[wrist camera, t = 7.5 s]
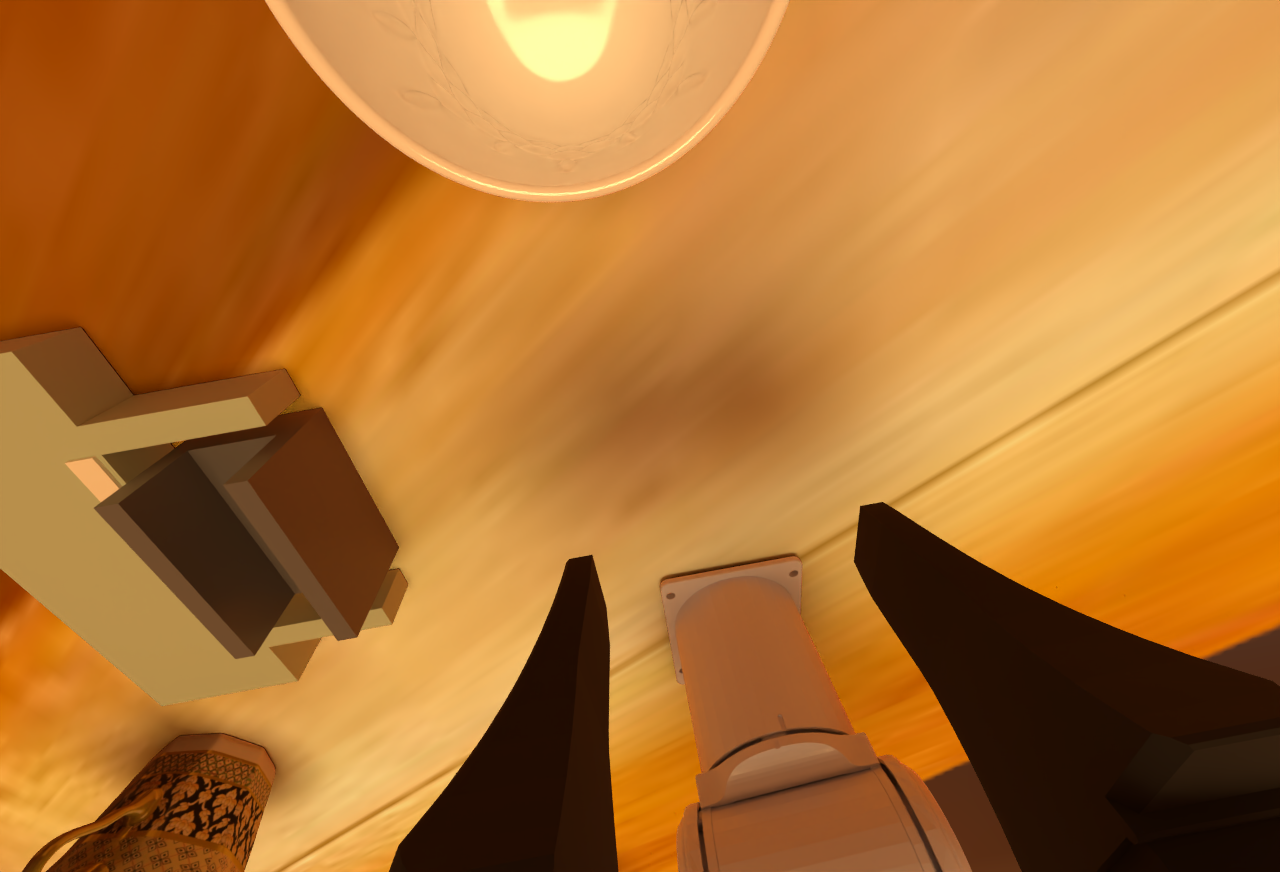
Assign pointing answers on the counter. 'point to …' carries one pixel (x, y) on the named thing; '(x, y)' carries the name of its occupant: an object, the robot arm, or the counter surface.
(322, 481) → the chute
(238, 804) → the ceramic cup
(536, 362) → the counter surface
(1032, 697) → the robot arm
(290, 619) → the tan bracket
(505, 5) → the white cup
